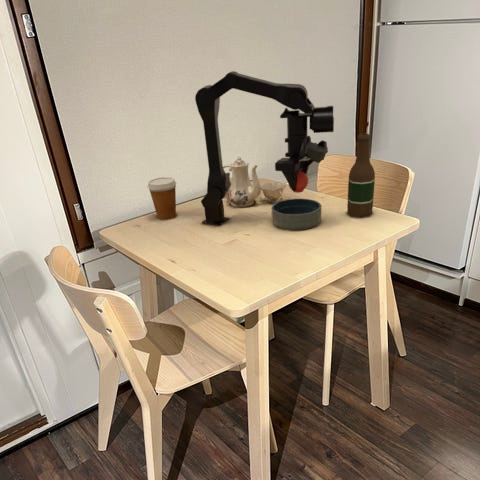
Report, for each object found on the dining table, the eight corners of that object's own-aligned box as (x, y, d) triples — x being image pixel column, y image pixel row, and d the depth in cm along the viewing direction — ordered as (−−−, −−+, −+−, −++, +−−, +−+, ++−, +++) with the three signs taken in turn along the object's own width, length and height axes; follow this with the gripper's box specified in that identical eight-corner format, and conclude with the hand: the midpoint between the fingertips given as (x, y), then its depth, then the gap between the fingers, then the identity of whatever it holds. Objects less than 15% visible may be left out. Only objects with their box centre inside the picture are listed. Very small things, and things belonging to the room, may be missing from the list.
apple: (303, 194, 145) (303, 170, 141) (285, 193, 147) (284, 168, 144) (311, 189, 149) (311, 164, 145) (293, 187, 152) (292, 163, 148)
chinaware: (292, 202, 173) (294, 153, 166) (269, 212, 161) (270, 160, 153) (227, 194, 187) (225, 148, 179) (201, 203, 174) (198, 155, 167)
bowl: (309, 233, 144) (309, 217, 141) (263, 227, 151) (263, 211, 148) (328, 216, 155) (328, 201, 152) (284, 211, 161) (284, 196, 159)
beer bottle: (372, 218, 151) (378, 136, 138) (346, 217, 152) (350, 137, 140) (371, 209, 157) (377, 131, 145) (347, 209, 159) (350, 132, 146)
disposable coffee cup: (178, 220, 162) (173, 184, 155) (150, 222, 162) (144, 186, 156) (182, 210, 170) (177, 176, 163) (155, 212, 170) (149, 177, 164)
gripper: (310, 142, 129) (310, 199, 137) (335, 127, 142) (334, 181, 151) (273, 140, 134) (275, 196, 142) (300, 126, 148) (301, 178, 156)
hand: (298, 187), depth 148 cm, fingers closed on apple, 6 cm apart
